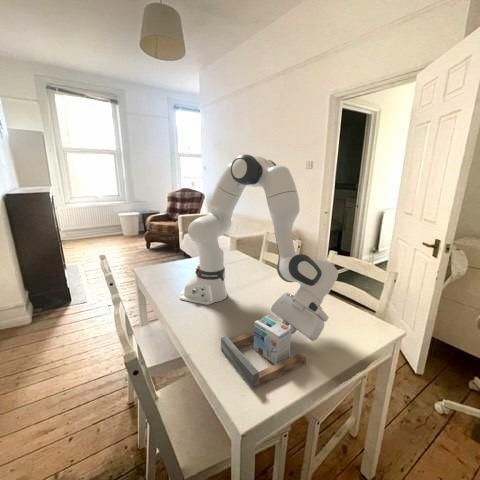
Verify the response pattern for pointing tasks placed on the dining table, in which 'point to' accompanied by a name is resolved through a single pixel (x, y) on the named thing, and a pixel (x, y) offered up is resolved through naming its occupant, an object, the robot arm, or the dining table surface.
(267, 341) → the light bulb box
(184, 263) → the dining table surface
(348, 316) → the dining table surface
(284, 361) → the guide dock
